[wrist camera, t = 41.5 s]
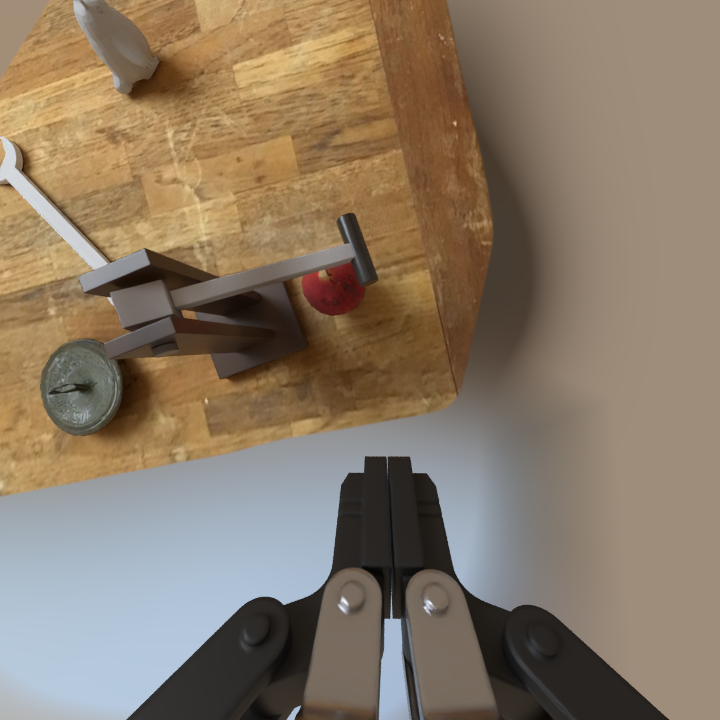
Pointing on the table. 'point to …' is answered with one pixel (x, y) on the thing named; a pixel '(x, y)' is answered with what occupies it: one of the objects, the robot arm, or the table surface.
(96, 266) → the wrench
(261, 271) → the silver and black bar
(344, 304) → the onion
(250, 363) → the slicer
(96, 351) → the lid
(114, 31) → the figurine
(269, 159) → the table surface
